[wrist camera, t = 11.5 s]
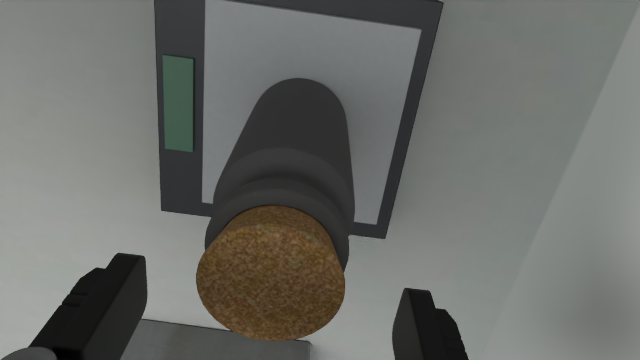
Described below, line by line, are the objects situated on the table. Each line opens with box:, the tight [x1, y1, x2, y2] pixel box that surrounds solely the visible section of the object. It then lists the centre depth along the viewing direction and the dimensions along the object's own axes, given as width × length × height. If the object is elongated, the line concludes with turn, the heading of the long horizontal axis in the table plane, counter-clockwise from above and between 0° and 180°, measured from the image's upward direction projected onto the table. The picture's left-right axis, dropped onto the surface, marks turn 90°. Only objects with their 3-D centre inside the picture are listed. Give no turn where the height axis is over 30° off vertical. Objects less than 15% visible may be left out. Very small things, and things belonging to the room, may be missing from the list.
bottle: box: [196, 78, 355, 341], centre depth 21 cm, size 6×6×15 cm
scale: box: [154, 0, 443, 239], centre depth 28 cm, size 16×16×3 cm
